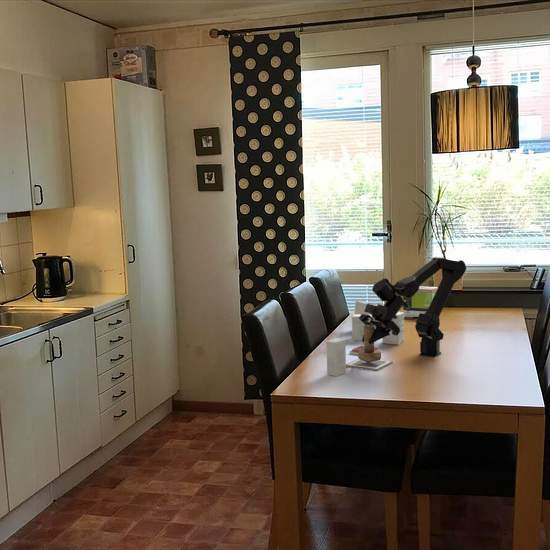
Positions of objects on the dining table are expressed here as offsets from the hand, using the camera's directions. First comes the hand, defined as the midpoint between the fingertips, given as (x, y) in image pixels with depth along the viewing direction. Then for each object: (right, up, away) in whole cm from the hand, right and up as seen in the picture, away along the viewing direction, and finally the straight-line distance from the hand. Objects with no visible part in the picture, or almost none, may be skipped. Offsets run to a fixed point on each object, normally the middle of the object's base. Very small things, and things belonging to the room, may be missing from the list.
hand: (366, 342), depth 252 cm
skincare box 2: (+5, -3, +44) cm, 44 cm away
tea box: (+39, +4, +92) cm, 100 cm away
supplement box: (+16, -4, +37) cm, 40 cm away
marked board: (+1, -8, +2) cm, 9 cm away
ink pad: (+2, -6, +20) cm, 21 cm away
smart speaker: (+7, -1, +61) cm, 61 cm away
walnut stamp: (+2, -6, +2) cm, 7 cm away
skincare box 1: (-12, -10, -9) cm, 18 cm away
